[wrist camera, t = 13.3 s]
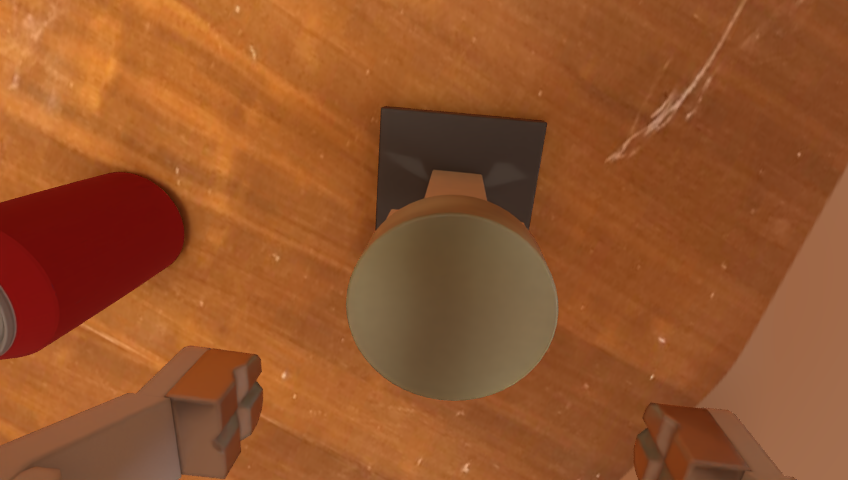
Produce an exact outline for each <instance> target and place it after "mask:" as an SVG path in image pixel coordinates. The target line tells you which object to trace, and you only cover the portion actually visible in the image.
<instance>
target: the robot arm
mask: <svg viewBox="0 0 848 480" xmlns="http://www.w3.org/2000/svg"><path fill="white" fill-rule="evenodd" d="M261 372H262V370H261V359H260V358H259V356H258V355H256V354H249V353H242V352H235V351H228V350H221V349H214V348H213V349H211V348H205V347H197V346H187V347H184V348H183V349H182V350H181V351H180V352H179V353H177V354H176V355H175V356H174V357H173V358H172V359H171V360H170V361H169V362H168V363H167V364H166V365H165V366H164V367H163V368H162V369H161V370H160V371H159V372H158V373H157V374H156V375H155V376H154V377H153V378H152V379H151V380H150V381H149V382H148V383H146V384H145V385H144V386H143V387H142V388H141V389H140V390H139V391H138V392H137V393H136V394H134V393H127V394H124V395H122V396H120V397H117V398H115V399H112V400H110V401H107V402H105V403H103V404H100V405H98V406H95V407H93V408H90V409H88V410H86V411H83V412H81V413H78V414H76V415H73V416H71V417H69V418H66V419H64V420H61V421H59V422H56V423H54V424H52V425H49V426H47V427H44V428H42V429H39V430H37V431H35V432H32V433H30V434H27V435H25V436H22V437H20V438H18V439H15V440H13V441H10V442H8V443H6V444H3V445H1V446H0V480H178V479H179V478H181V474H182V475H192V476H201V477H211V478H221V479H225V478H226V476H227V474H228V473H229V471H230V469H231V468H232V466H233V464H234V463H235V461H236V459H237V458H238V456H239V454H240V453H241V444H240V441H241V440H243V439H245V438H246V437H248V436H250V435H251V434H252V432H253V430H254V429H255V427H256V425H257V423H258V420H259V417H260V413H261V410H262V403H263V389H262V387H261V386H260V385H259V384H258V382H257V381H256V379H257V378H258V376H259V375H260V373H261ZM643 420H644V422H645V424H646V426H647V428H646V429H645V430H644V431H642V432H641V433H640V434H638V435H637V438H636V441H635V445H634V467H635V471H636V475H637V477H638V480H797V479H795V478H794V477H789V476H784V475H783V474H782V472H781V471H780V470H779V469H778V467H777V466H776V465H775V464H774V462H773V461H772V460H771V459H770V457H769V456H768V455H767V454H766V453H765V451H764V450H763V449H762V448H761V446H760V445H759V444H758V443H757V441H756V440H755V439H754V437H753V436H752V435H751V434H750V433H749V431H748V430H747V429H746V427H745V426H744V425H743V424H742V423H741V421H740V420H739V419H738V417H737V416H736V415H735V414H733V413H732V412H730V411H729V410H722V409H711V408H693V407H685V406H676V405H668V404H659V403H650V404H649V405H648V406H647V407H646V409H645V412H644V415H643Z"/></svg>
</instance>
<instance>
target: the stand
mask: <svg viewBox="0 0 848 480" xmlns="http://www.w3.org/2000/svg"><path fill="white" fill-rule="evenodd" d="M546 127H547V123H546V122H545V121H543V120H532V119H521V118H510V117H499V116H488V115H477V114H466V113H455V112H444V111H433V110H422V109H411V108H400V107H389V106H384V107H382V108H381V121H380V143H379V164H378V186H377V207H376V229H375V231H376V230H377V229H378V227H379V226H380V225H381V224H382V223H383V222H384V221H385V220H386V219H387V218H388V217H389V216H391V215H392V214H393V213H395V212H396V211H398V210H399V209H401V208H403V207H404V206H406V205H408V204H410V203H413V202H415V201H418V200H421V199H424V198H428V197H433V196H440V195H464V196H471V197H476V198H479V199H483V200H486V201H489V202H491V203H493V204H495V205H498V206H500V207H501V208H503V209H505V210H506V211H508V212H510V213H511V214H512V215H513V216H515V217H516V218H517V219H518V220H519V221H520V222H521V223H522V224H523V225H524V226H525V227H526V228H527V229H528V230H529V226H530V220H531V214H532V208H533V203H534V197H535V191H536V185H537V179H538V174H539V168H540V162H541V156H542V150H543V145H544V139H545V133H546Z"/></svg>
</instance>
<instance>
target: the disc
mask: <svg viewBox="0 0 848 480" xmlns="http://www.w3.org/2000/svg"><path fill="white" fill-rule="evenodd" d="M346 310H347V318H348V323H349V327H350V330H351V333H352V336H353V339H354V341H355V343H356V345H357V347H358V349H359V350H360V352H361V353H362V355H363V356H364V357H365V359H366V360H367V361H368V362H369V364H370V365H371V366H372V367H373V368H374V369H375V370H376V371H377V372H379V373H380V374H381V375H382V376H383V377H384V378H386V379H387V380H389V381H390V382H392V383H393V384H395V385H397V386H399V387H401V388H402V389H404V390H407V391H409V392H412V393H414V394H417V395H420V396H424V397H427V398H433V399H439V400H451V401H457V400H470V399H476V398H481V397H485V396H489V395H492V394H495V393H497V392H500V391H502V390H504V389H506V388H508V387H510V386H512V385H513V384H515V383H516V382H518V381H519V380H521V379H522V378H524V377H525V376H526V375H527V374H528V373H529V372H530V371H531V370H532V369H534V367H535V366H536V365H537V364H538V363H539V361H540V360H541V359H542V357H543V356H544V354H545V353H546V351H547V349H548V348H549V345H550V343H551V341H552V339H553V336H554V333H555V329H556V326H557V319H558V297H557V291H556V286H555V283H554V280H553V277H552V274H551V272H550V270H549V268H548V266H547V263H546V261H545V259H544V257H543V254H542V252H541V250H540V248H539V246H538V244H537V242H536V240H535V239H534V237H533V236H532V234H531V233H530V232H529V230H528V229H527V228H526V227H525V226H524V225H523V224H522V223H521V222H520V221H519V220H518V219H517V218H516V217H515V216H513V215H512V214H511V213H510V212H508V211H506V210H505V209H503V208H501V207H500V206H498V205H495V204H493V203H491V202H489V201H486V200H483V199H479V198H476V197H471V196H464V195H440V196H433V197H428V198H424V199H421V200H418V201H415V202H413V203H410V204H408V205H406V206H404V207H403V208H401V209H399V210H398V211H396V212H395V213H393V214H392V215H391V216H389V217H388V218H387V219H386V220H385V221H384V222H383V223H382V224H381V225H380V226H379V227H378V229H377V230H376V231H375V232H374V234H373V235H372V237H371V239H370V240H369V242H368V244H367V246H366V247H365V249H364V251H363V253H362V255H361V256H360V258H359V260H358V262H357V264H356V265H355V267H354V270H353V272H352V275H351V277H350V281H349V285H348V289H347V298H346Z"/></svg>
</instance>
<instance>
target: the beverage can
mask: <svg viewBox="0 0 848 480" xmlns="http://www.w3.org/2000/svg"><path fill="white" fill-rule="evenodd" d="M183 243H184V227H183V222H182V218H181V216H180V213H179V211H178V209H177V207H176V206H175V204H174V202H173V201H172V200H171V198H170V197H169V196H168V195H167V194H166V193H165V192H164V191H163V190H162V189H161V188H160V187H159V186H157V185H156V184H154V183H153V182H151V181H150V180H148V179H146V178H144V177H141V176H139V175H136V174H132V173H125V172H113V173H108V174H104V175H100V176H97V177H93V178H89V179H85V180H81V181H77V182H74V183H70V184H66V185H62V186H59V187H55V188H51V189H48V190H44V191H40V192H37V193H33V194H29V195H26V196H22V197H19V198H15V199H12V200H8V201H4V202H1V203H0V360H2V359H10V358H18V357H23V356H27V355H30V354H33V353H35V352H38V351H39V350H41V349H43V348H44V347H46V346H47V345H49V344H50V343H52V342H54V341H55V340H57V339H58V338H60V337H61V336H63V335H65V334H66V333H68V332H69V331H71V330H72V329H74V328H76V327H77V326H79V325H80V324H82V323H83V322H85V321H86V320H88V319H90V318H91V317H93V316H94V315H96V314H97V313H99V312H100V311H102V310H103V309H105V308H106V307H108V306H110V305H111V304H113V303H114V302H116V301H117V300H119V299H120V298H122V297H123V296H125V295H126V294H128V293H129V292H131V291H132V290H134V289H135V288H137V287H138V286H140V285H141V284H143V283H144V282H146V281H147V280H149V279H150V278H152V277H153V276H155V275H156V274H158V273H159V272H161V271H162V270H164V269H165V268H166V267H168V266H169V265H171V264H172V263H173V262H174V261H175V260H176V258H177V257H178V256H179V254H180V252H181V250H182V247H183Z"/></svg>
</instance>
